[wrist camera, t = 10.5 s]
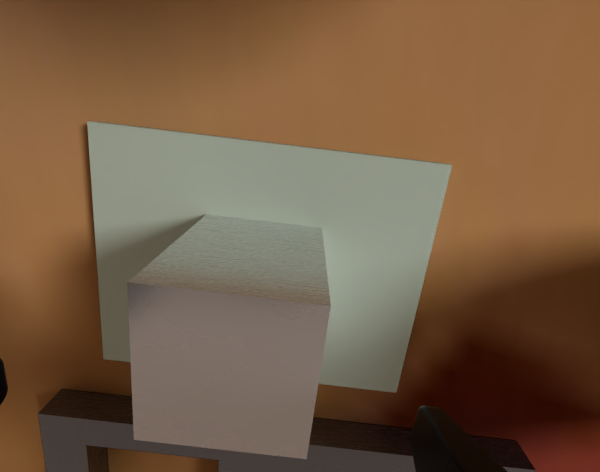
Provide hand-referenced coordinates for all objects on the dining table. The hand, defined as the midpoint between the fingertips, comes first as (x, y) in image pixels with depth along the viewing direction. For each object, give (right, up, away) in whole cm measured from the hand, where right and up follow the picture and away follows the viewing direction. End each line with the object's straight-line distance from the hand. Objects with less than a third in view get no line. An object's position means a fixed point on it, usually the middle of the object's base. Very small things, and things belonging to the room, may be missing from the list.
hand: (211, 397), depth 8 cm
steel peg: (0, +2, +6) cm, 7 cm away
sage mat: (0, +2, +7) cm, 7 cm away
